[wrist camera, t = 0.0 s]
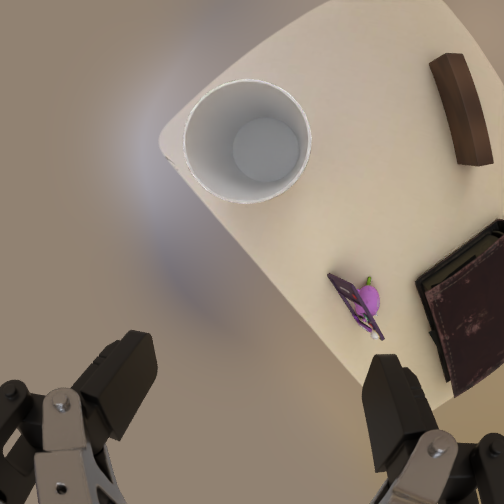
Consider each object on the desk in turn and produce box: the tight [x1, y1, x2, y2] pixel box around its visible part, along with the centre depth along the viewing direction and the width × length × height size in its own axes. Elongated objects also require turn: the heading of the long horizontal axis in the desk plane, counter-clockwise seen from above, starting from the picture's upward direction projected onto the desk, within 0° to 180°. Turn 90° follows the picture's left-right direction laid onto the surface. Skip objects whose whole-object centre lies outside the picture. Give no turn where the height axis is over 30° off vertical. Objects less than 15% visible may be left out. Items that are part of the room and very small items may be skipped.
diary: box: [415, 219, 504, 398], centre depth 32 cm, size 19×25×5 cm
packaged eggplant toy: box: [327, 273, 385, 341], centre depth 33 cm, size 7×5×9 cm
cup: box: [183, 79, 312, 204], centre depth 24 cm, size 8×8×16 cm
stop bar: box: [429, 53, 494, 166], centre depth 24 cm, size 14×3×5 cm, turn 17°
